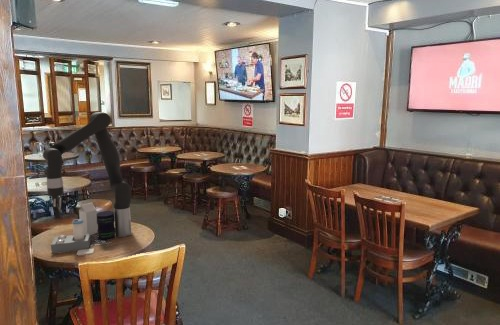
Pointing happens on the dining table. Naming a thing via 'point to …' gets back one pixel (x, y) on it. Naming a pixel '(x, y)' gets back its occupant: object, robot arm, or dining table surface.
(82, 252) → the coaster
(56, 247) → the housing
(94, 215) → the milk carton
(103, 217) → the storage jar
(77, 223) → the tumbler with domed lid
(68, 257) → the dining table surface
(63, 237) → the plunger
